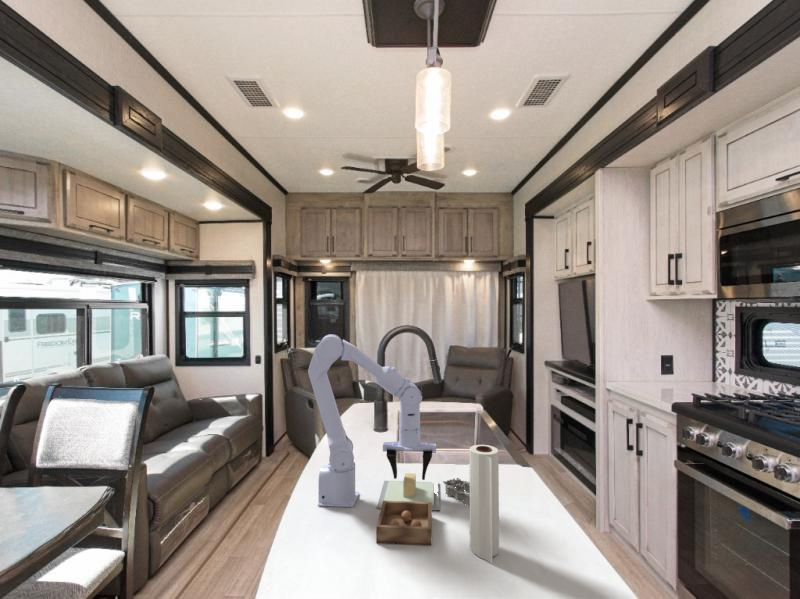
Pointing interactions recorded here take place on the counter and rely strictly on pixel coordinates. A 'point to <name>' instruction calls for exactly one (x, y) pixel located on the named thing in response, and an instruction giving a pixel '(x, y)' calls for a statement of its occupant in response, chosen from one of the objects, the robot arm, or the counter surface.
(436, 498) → the mat
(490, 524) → the paper towel roll
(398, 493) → the lid
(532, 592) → the counter surface
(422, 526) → the box base
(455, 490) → the egg carton
